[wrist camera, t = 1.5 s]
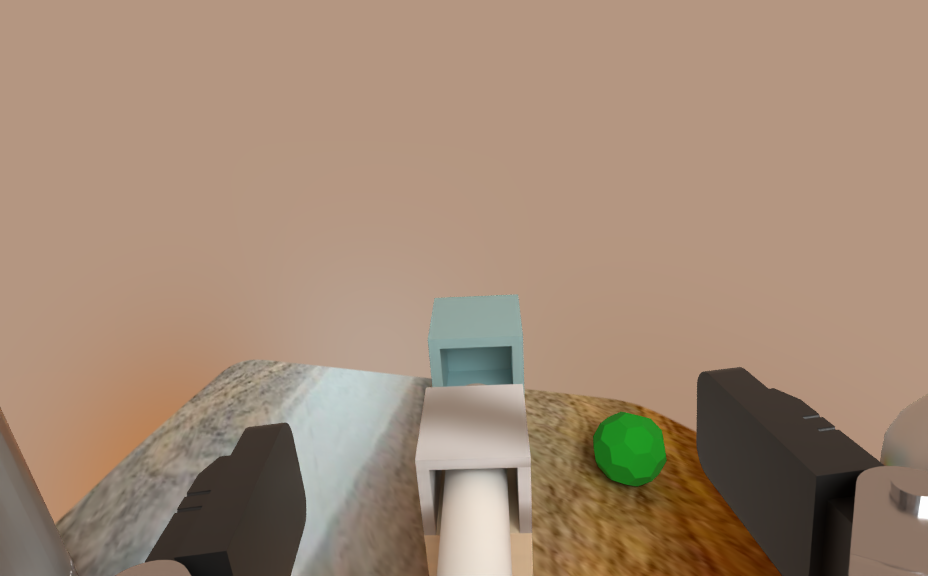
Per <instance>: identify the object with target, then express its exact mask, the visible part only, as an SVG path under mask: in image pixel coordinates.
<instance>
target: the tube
mask: <svg viewBox="0 0 928 576" xmlns="http://www.w3.org/2000/svg"><path fill="white" fill-rule="evenodd" d="M479 385H485V384H480V383H475V384H469V385H466V386H479ZM437 576H512V561H511V541H510V521H509V501H508V481H507V468H483V469H447V470H445V482H444V494H443V506H442V518H441V530H440V543H439V555H438V567H437Z"/></svg>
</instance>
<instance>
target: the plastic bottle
mask: <svg viewBox="0 0 928 576" xmlns="http://www.w3.org/2000/svg"><path fill="white" fill-rule="evenodd" d="M880 462H881V463H882V464H883V465H884V466H901V467H909V468H914V469H919V470H923V471H926V472H928V394H927V395H925V396H923V397H922V398H920V399H919V400H917V401H915V402H914V403H912V404H910V405H909V406H907V407H906V408H905V409H904V410H903V411H901V412H900V414H899V415H898V416H897V418H896V419H895V420H894V421H893V423H892V424H891V425H890V426H889V428H888V430H887V432H886V433H885V436H884V442H883V446H882V451H881V459H880Z"/></svg>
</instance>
